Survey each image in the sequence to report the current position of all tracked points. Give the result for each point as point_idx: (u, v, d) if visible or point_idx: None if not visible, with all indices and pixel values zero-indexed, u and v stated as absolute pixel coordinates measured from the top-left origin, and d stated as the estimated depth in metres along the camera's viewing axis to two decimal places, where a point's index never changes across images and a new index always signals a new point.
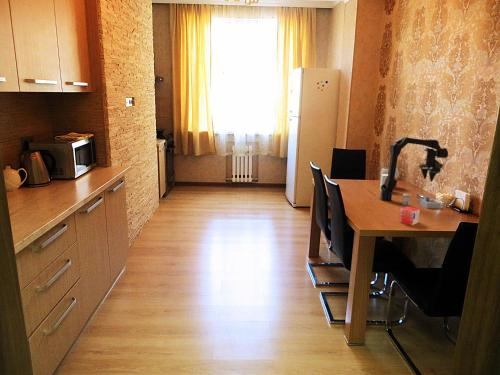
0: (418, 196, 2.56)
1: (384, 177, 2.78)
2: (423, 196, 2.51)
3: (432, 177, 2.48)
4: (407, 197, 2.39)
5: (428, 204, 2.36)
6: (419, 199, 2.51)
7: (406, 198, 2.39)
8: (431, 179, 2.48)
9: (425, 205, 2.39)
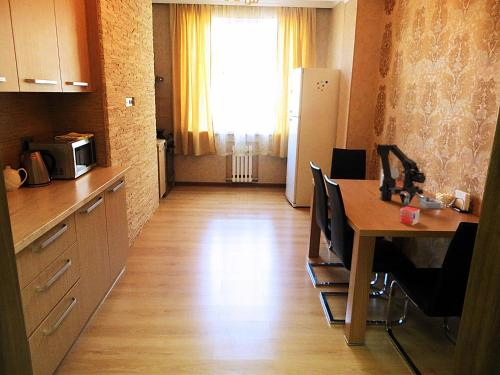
0: (418, 196, 2.56)
1: None
2: (423, 196, 2.51)
3: (402, 199, 2.41)
4: (407, 197, 2.39)
5: (428, 204, 2.36)
6: (419, 199, 2.51)
7: (406, 198, 2.39)
8: None
9: (425, 205, 2.39)
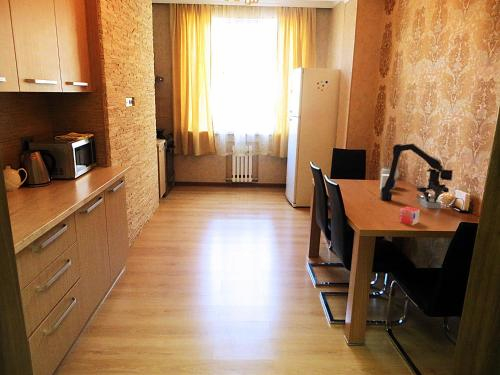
0: (418, 196, 2.56)
1: (384, 177, 2.78)
2: (423, 196, 2.51)
3: (426, 198, 2.40)
4: (432, 198, 2.38)
5: (428, 204, 2.36)
6: (419, 199, 2.51)
7: (431, 199, 2.38)
8: None
9: (425, 205, 2.39)
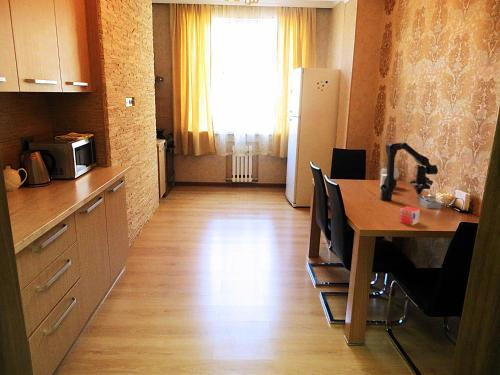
0: None
1: (384, 177, 2.78)
2: (424, 197, 2.49)
3: (419, 192, 2.57)
4: (432, 198, 2.38)
5: (428, 204, 2.36)
6: (419, 199, 2.51)
7: (431, 199, 2.38)
8: None
9: (425, 205, 2.39)
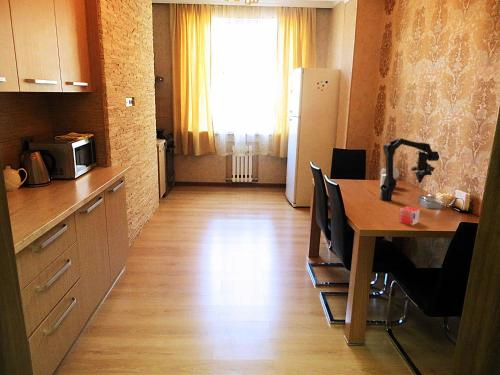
0: None
1: (384, 177, 2.78)
2: (425, 197, 2.47)
3: (421, 179, 2.55)
4: (432, 198, 2.38)
5: (428, 204, 2.36)
6: (419, 199, 2.51)
7: (431, 199, 2.38)
8: (420, 181, 2.55)
9: (425, 205, 2.39)
